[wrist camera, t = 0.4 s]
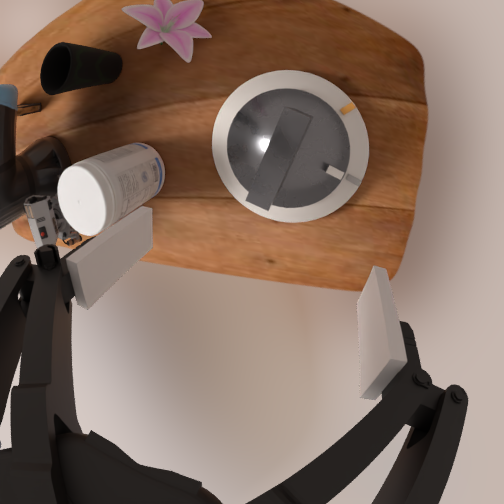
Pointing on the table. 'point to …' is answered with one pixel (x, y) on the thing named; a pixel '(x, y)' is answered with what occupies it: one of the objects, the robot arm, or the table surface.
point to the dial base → (326, 93)
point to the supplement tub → (109, 186)
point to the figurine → (48, 220)
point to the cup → (78, 68)
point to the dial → (288, 149)
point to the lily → (170, 24)
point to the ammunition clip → (28, 109)
